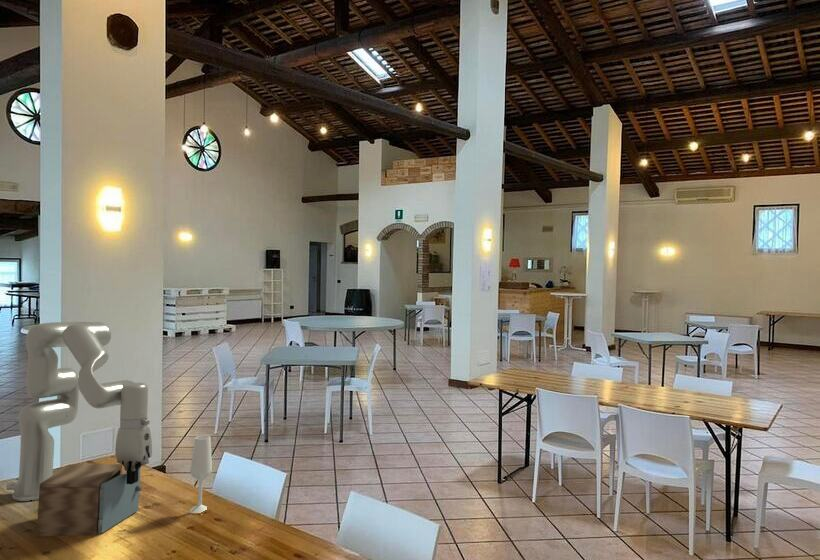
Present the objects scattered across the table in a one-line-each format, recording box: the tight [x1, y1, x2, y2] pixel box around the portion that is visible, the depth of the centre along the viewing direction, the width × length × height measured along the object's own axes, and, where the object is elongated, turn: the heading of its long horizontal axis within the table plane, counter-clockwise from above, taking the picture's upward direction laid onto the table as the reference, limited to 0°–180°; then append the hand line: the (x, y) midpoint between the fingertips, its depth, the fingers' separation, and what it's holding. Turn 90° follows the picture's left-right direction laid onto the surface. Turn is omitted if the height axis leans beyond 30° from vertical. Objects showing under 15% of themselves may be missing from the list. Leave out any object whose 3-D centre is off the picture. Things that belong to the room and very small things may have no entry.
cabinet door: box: [98, 467, 143, 534], centre depth 162 cm, size 2×17×14 cm, turn 172°
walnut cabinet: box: [36, 463, 123, 537], centre depth 161 cm, size 16×17×15 cm
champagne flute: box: [189, 434, 213, 514], centre depth 173 cm, size 7×7×24 cm
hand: (132, 482), depth 163 cm, fingers closed
